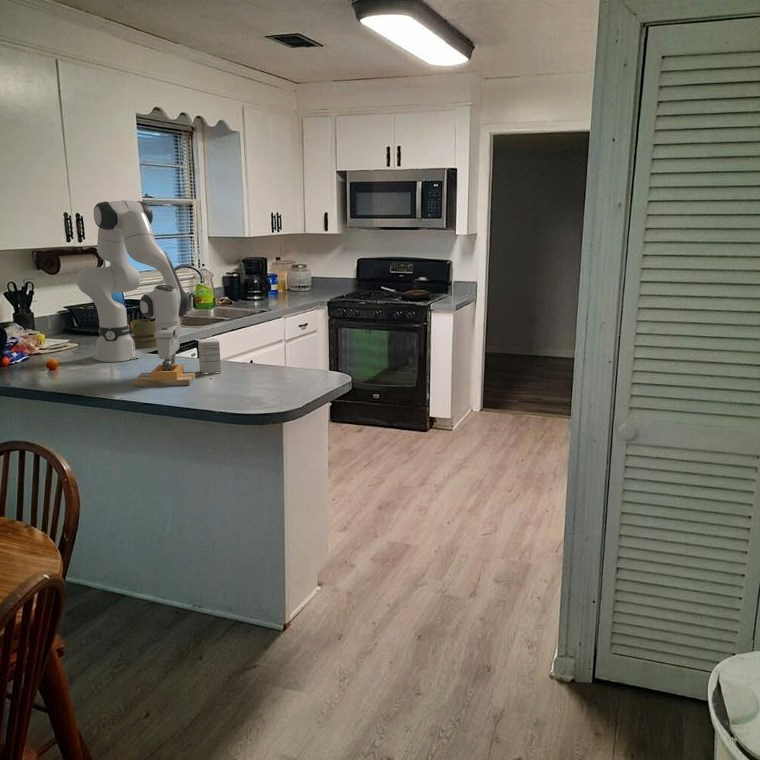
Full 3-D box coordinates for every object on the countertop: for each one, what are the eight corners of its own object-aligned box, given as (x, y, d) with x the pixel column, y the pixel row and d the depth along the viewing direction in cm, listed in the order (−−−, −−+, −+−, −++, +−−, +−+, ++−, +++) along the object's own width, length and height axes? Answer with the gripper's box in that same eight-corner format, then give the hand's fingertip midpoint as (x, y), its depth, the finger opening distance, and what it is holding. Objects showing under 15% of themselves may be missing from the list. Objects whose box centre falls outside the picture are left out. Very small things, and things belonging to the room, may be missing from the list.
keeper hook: (164, 375, 262) (163, 360, 261) (172, 375, 262) (171, 359, 261) (161, 378, 258) (160, 362, 256) (170, 378, 258) (169, 362, 256)
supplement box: (199, 371, 279) (197, 339, 276) (218, 369, 281) (216, 338, 278) (201, 374, 272) (199, 342, 269) (221, 373, 274) (219, 341, 272)
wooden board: (142, 378, 267) (141, 372, 267) (196, 376, 269) (196, 371, 268) (132, 386, 253) (132, 381, 253) (189, 385, 255) (189, 380, 254)
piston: (138, 323, 321) (125, 321, 328) (141, 349, 324) (127, 346, 331) (160, 320, 329) (147, 318, 336) (162, 346, 332) (149, 343, 339)
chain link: (159, 372, 267) (158, 364, 266) (183, 372, 268) (183, 364, 267) (151, 380, 254) (150, 372, 253) (176, 379, 255) (176, 371, 254)
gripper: (165, 325, 273) (168, 360, 276) (153, 334, 253) (155, 372, 256) (182, 324, 273) (184, 360, 276) (171, 334, 253) (173, 371, 256)
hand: (170, 366), depth 266 cm, fingers open, 5 cm apart
